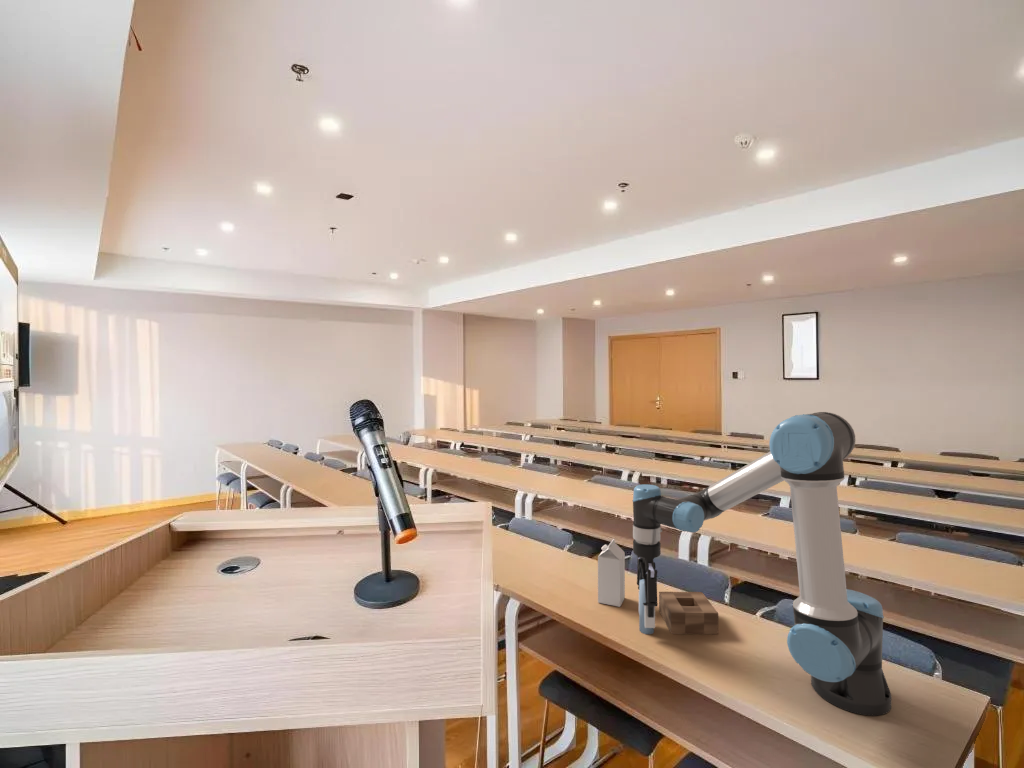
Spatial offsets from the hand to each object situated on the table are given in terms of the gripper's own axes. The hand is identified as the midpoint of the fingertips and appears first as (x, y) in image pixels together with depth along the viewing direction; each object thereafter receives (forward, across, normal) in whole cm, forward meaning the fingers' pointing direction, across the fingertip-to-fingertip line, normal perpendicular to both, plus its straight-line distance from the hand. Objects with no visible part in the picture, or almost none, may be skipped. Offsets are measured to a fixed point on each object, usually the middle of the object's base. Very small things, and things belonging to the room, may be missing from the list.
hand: (646, 620), depth 140 cm
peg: (+3, 0, 0) cm, 3 cm away
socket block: (+3, +5, -13) cm, 14 cm away
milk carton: (+3, +18, +7) cm, 20 cm away
